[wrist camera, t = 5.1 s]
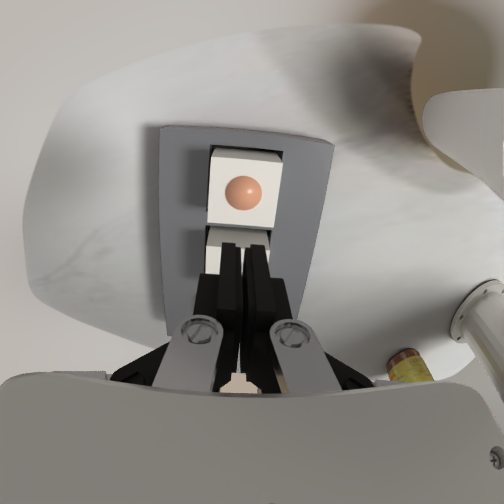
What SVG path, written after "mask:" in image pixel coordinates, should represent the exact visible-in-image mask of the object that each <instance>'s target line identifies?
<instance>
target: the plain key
mask: <svg viewBox="0 0 504 504" xmlns="http://www.w3.org/2000/svg"><path fill="white" fill-rule="evenodd" d="M222 242H228V243H236V247H241V266H242V270H243V260H244V251H245V247H249V248H250V245H251V244H257V245H265V249H266V255H267V261H268V262H269V255H270V247H269V242H268V236H267V231H266V230H263V229H251V228H238V227H225V226H212V225H211V226H210V231H209V235H208V240H207V245H206V274H219V271H220V259H221V247H222Z"/></svg>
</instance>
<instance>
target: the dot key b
mask: <svg viewBox="0 0 504 504" xmlns="http://www.w3.org/2000/svg"><path fill="white" fill-rule="evenodd" d="M282 167H283V162H282V161H281V159H280V158H279V156H278V155H277V153H272V152H263V151H253V150H242V149H229V148H215V150H214V152H213V154H212V156H211V166H210V182H209V199H208V219H207V222H208V223H222V224H235V225H248V226H260V227H272V228H274V222H275V215H276V209H277V202H278V195H279V188H280V181H281V174H282Z"/></svg>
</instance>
